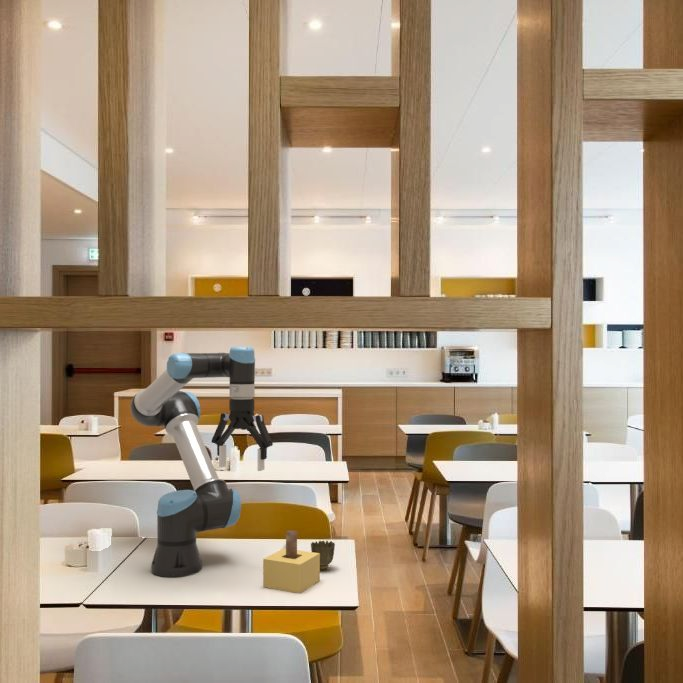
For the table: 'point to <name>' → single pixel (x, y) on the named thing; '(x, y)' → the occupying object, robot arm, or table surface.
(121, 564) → the table surface
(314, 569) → the hole block
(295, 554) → the walnut peg
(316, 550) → the cup
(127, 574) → the table surface
